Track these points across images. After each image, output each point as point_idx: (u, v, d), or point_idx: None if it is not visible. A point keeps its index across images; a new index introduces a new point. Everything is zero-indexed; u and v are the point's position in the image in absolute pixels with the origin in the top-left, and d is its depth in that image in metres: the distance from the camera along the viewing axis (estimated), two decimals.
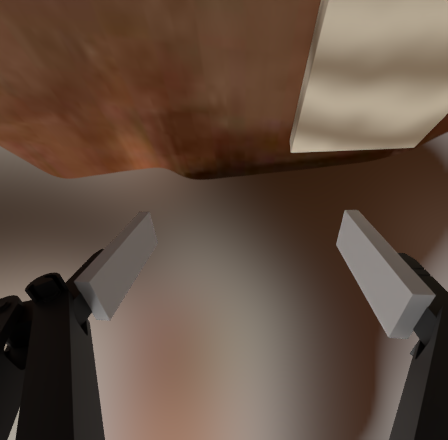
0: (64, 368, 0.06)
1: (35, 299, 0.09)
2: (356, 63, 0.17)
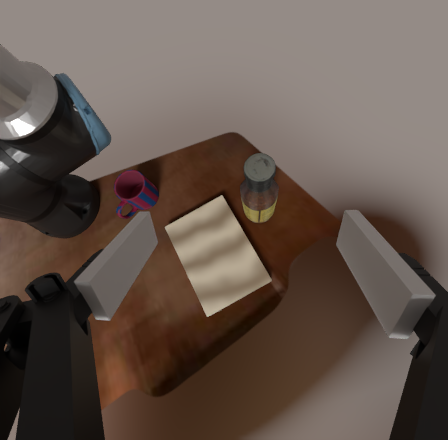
0: (64, 368, 0.06)
1: (35, 299, 0.09)
2: (199, 260, 0.43)
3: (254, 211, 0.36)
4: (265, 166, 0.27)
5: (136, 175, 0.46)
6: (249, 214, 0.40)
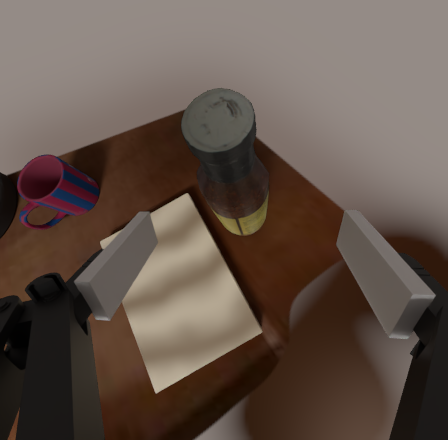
0: (64, 368, 0.06)
1: (35, 299, 0.09)
2: (147, 295, 0.27)
3: (227, 219, 0.20)
4: (230, 116, 0.11)
5: (58, 164, 0.30)
6: (224, 223, 0.24)
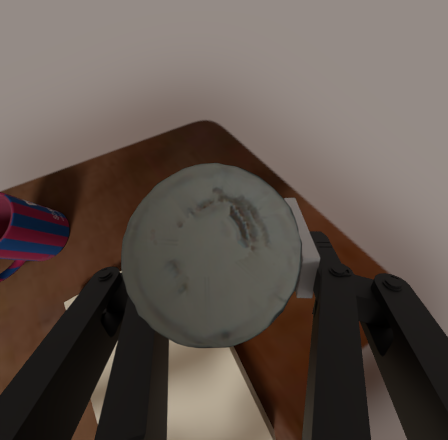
0: (148, 338, 0.07)
1: None
2: None
3: None
4: (238, 245, 0.04)
5: None
6: None
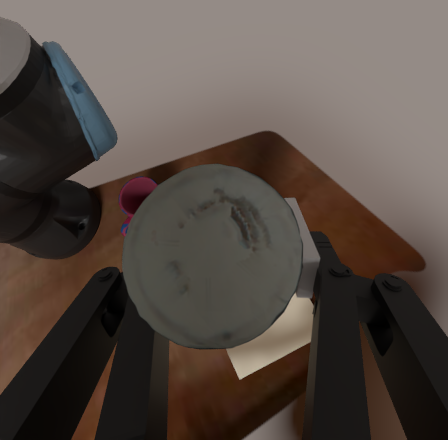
0: (148, 339, 0.07)
1: None
2: None
3: None
4: (239, 247, 0.04)
5: (147, 183, 0.36)
6: None
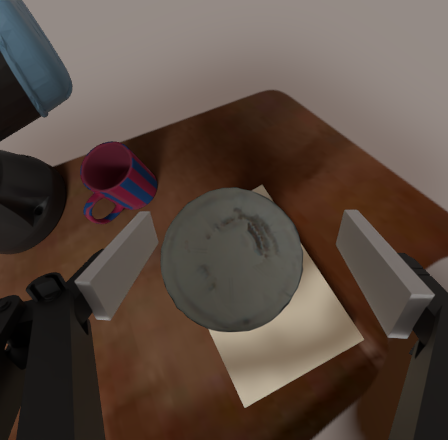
0: (65, 367, 0.06)
1: (36, 299, 0.09)
2: None
3: None
4: (255, 254, 0.06)
5: (120, 152, 0.28)
6: None
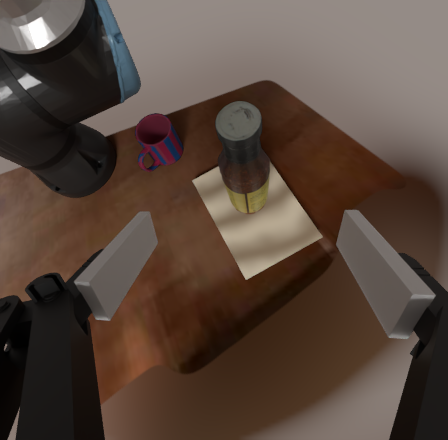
0: (64, 368, 0.06)
1: (35, 299, 0.09)
2: (233, 215, 0.37)
3: (239, 195, 0.27)
4: (246, 119, 0.18)
5: (159, 122, 0.40)
6: (234, 201, 0.31)
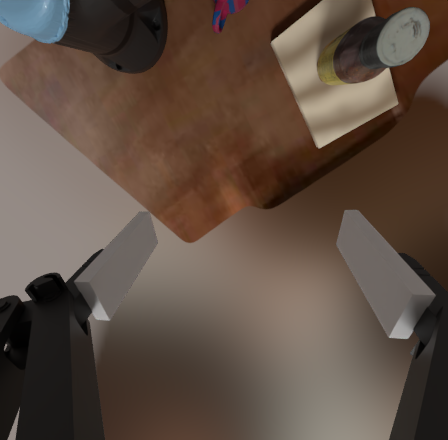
0: (64, 368, 0.06)
1: (35, 299, 0.09)
2: (315, 86, 0.37)
3: (345, 83, 0.29)
4: (412, 37, 0.18)
5: None
6: (330, 80, 0.32)
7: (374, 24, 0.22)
